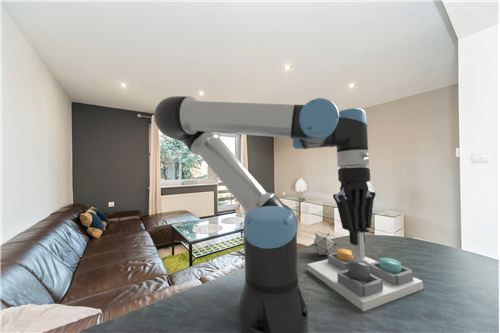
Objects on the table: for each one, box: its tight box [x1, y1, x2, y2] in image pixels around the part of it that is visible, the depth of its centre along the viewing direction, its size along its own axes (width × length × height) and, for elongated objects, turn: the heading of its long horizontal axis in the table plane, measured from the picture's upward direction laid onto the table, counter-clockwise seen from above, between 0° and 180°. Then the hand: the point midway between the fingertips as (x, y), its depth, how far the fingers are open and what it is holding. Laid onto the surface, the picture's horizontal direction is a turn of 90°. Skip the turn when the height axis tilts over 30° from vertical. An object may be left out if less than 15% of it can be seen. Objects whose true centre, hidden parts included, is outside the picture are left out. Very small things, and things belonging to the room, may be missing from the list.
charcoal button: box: [348, 258, 370, 281], centre depth 49 cm, size 5×5×4 cm
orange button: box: [335, 248, 354, 262], centre depth 60 cm, size 5×5×4 cm
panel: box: [307, 252, 424, 312], centre depth 55 cm, size 22×20×4 cm
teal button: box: [378, 257, 402, 275], centre depth 53 cm, size 5×5×4 cm
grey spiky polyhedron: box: [311, 232, 338, 257], centre depth 72 cm, size 9×8×10 cm
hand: (358, 256), depth 49 cm, fingers closed
